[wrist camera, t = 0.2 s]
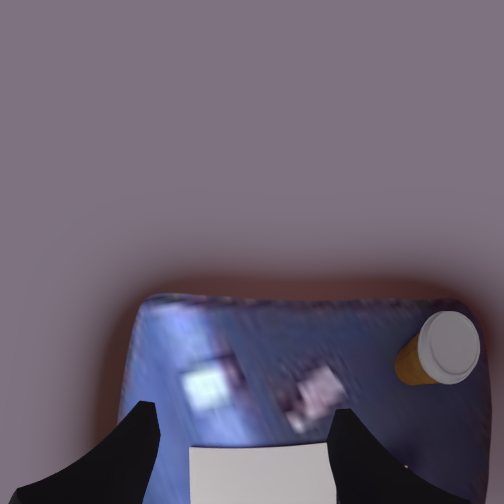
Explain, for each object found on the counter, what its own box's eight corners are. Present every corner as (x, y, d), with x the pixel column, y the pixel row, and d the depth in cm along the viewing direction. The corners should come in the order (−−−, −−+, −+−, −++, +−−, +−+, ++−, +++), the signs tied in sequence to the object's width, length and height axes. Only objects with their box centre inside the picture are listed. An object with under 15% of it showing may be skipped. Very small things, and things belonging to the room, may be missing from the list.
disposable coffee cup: (445, 355, 43) (490, 331, 32) (420, 406, 39) (466, 395, 28) (402, 324, 46) (440, 293, 35) (373, 375, 42) (410, 356, 31)
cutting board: (334, 534, 29) (336, 536, 29) (194, 541, 29) (193, 543, 28) (332, 441, 37) (334, 441, 36) (190, 447, 36) (189, 447, 36)
